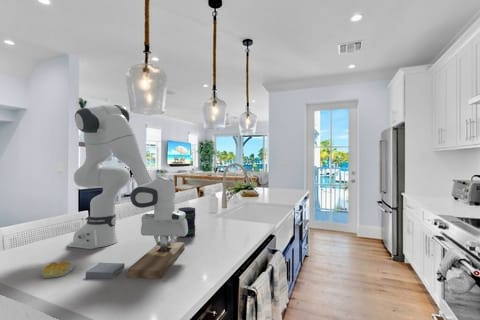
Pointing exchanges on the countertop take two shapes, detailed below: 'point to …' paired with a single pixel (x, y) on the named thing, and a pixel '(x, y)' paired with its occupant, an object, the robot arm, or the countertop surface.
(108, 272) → the plate
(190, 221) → the storage jar
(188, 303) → the countertop surface
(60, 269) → the bread roll
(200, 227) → the countertop surface
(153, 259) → the walnut rail
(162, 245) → the metal peg
